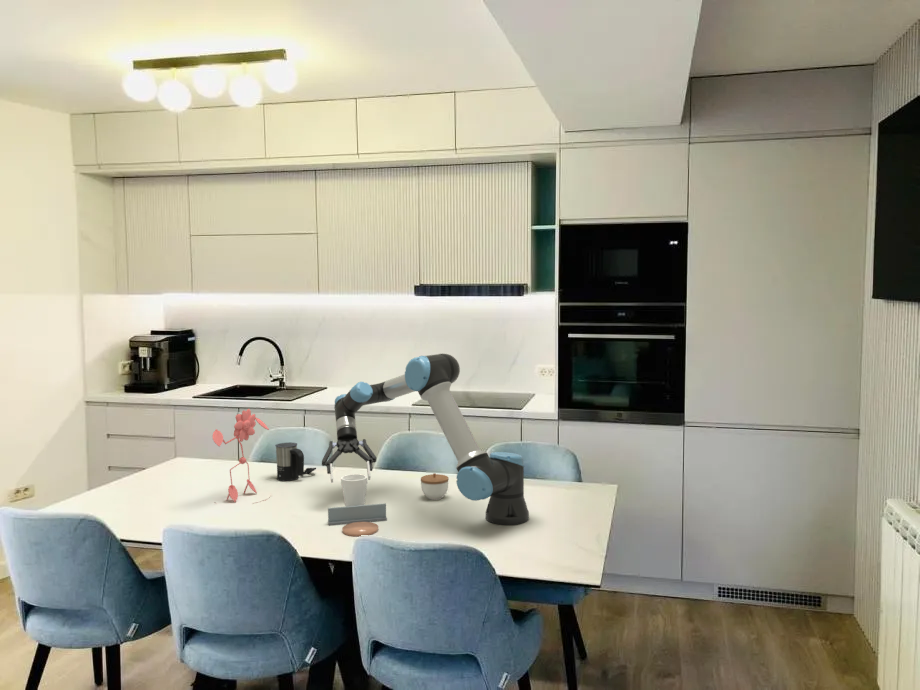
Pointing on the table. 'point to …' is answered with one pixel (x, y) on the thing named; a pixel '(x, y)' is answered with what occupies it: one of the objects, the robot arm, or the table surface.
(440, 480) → the lidded jar
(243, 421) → the figurine
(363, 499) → the foam cup
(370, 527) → the terracotta coaster
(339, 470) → the table surface
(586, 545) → the table surface
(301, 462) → the milk frother
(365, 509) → the low wall
